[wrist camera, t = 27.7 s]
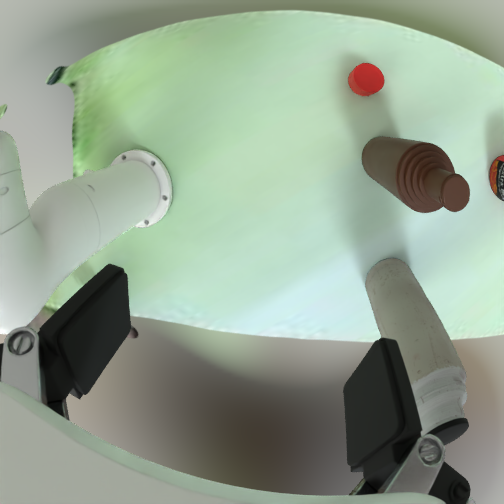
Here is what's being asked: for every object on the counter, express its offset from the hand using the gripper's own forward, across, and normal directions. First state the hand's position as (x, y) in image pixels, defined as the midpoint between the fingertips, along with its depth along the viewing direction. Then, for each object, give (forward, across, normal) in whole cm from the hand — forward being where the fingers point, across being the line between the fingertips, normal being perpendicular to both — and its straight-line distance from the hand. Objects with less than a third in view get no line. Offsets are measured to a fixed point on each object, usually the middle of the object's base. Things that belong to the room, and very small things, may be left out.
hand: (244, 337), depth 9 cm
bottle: (+30, -12, -7) cm, 33 cm away
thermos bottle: (+30, -20, +10) cm, 37 cm away
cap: (+29, -7, -16) cm, 34 cm away
